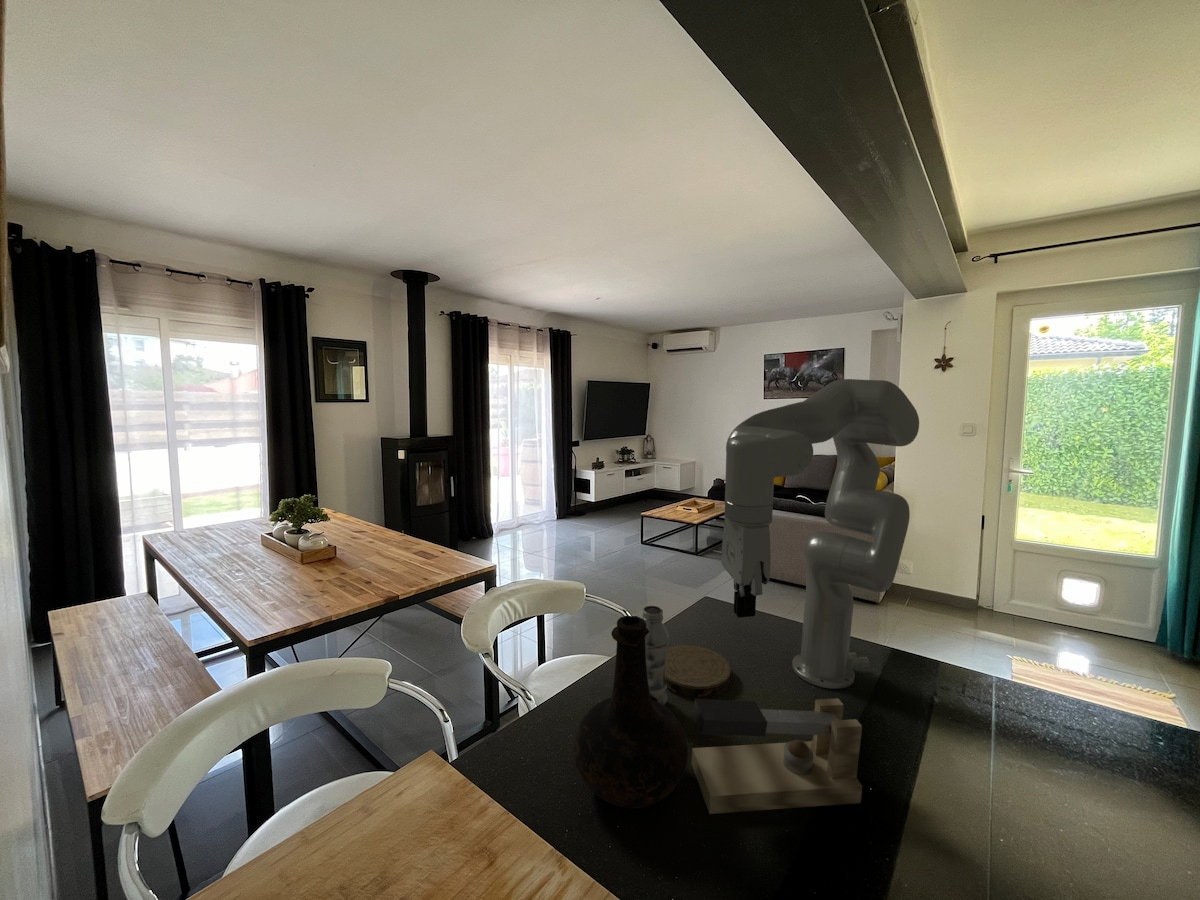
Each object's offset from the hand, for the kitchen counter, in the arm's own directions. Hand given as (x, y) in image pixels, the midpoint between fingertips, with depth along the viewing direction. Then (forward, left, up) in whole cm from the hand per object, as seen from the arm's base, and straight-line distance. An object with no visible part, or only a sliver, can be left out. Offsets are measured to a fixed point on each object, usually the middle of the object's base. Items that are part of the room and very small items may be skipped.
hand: (744, 614), depth 90 cm
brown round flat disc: (+2, -21, -25) cm, 33 cm away
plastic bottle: (+13, -12, -25) cm, 31 cm away
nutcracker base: (-3, +9, -25) cm, 26 cm away
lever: (-1, +9, -15) cm, 18 cm away
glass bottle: (+20, +7, -25) cm, 33 cm away
